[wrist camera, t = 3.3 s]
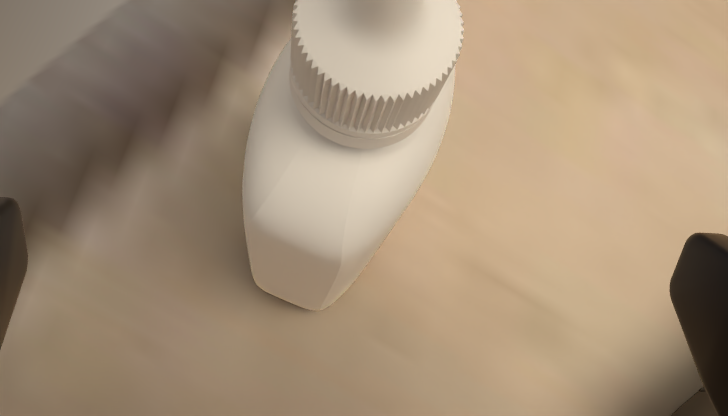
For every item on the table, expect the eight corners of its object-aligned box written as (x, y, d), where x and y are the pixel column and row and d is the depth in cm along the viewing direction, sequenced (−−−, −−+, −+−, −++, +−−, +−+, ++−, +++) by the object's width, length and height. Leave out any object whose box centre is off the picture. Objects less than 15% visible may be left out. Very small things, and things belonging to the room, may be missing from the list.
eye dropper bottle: (197, 210, 19) (86, -61, 8) (354, 101, 21) (454, -263, 9) (293, 335, 19) (323, 241, 7) (448, 214, 20) (676, -23, 9)
